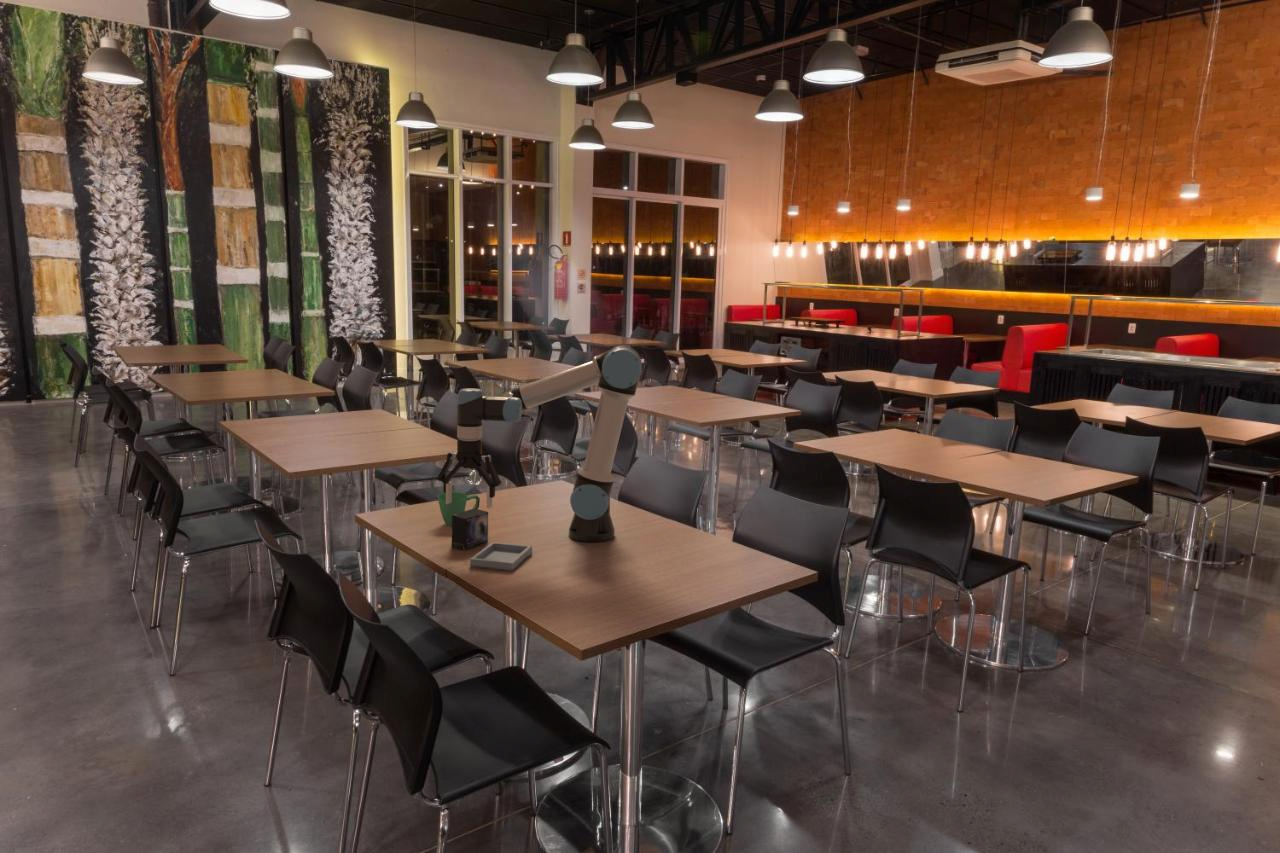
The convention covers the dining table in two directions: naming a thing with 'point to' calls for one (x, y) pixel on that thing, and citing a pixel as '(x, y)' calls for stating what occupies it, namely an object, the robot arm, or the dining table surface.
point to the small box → (469, 529)
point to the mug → (455, 505)
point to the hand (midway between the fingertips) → (468, 505)
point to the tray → (501, 556)
